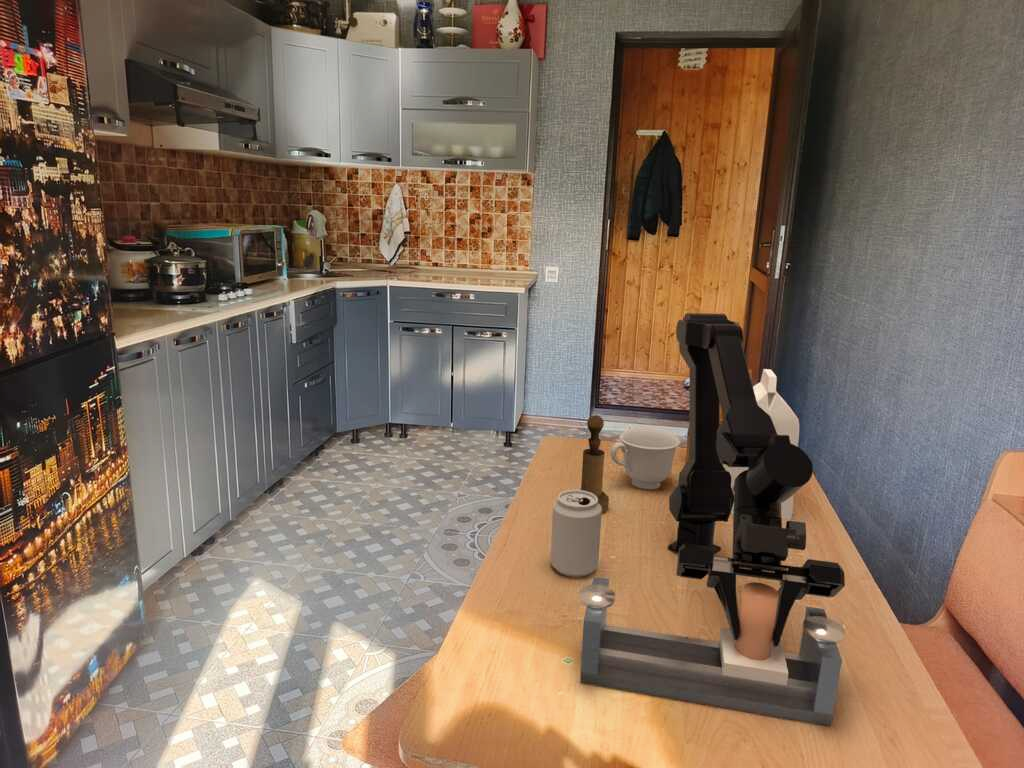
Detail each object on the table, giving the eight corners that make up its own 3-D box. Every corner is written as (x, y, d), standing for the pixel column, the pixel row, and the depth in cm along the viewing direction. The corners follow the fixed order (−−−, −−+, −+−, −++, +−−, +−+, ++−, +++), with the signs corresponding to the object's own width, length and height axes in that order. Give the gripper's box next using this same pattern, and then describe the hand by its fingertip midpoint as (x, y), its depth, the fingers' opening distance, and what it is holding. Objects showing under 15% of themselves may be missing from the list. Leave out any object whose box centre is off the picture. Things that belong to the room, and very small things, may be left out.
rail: (570, 680, 84) (573, 614, 81) (581, 632, 93) (584, 571, 91) (842, 728, 77) (855, 657, 75) (824, 670, 87) (835, 606, 84)
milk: (791, 520, 128) (810, 383, 121) (726, 514, 130) (741, 378, 123) (779, 494, 139) (796, 367, 132) (719, 488, 141) (733, 363, 134)
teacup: (593, 479, 144) (595, 433, 141) (652, 469, 150) (656, 425, 147) (626, 502, 133) (629, 453, 131) (688, 490, 139) (693, 443, 137)
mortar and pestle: (611, 503, 133) (617, 413, 128) (604, 517, 127) (610, 423, 122) (577, 498, 135) (582, 409, 130) (568, 511, 129) (573, 419, 124)
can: (595, 582, 105) (600, 509, 102) (546, 576, 107) (549, 504, 104) (599, 558, 112) (604, 489, 109) (553, 552, 114) (556, 484, 111)
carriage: (722, 674, 80) (731, 603, 78) (719, 638, 87) (727, 572, 85) (786, 685, 79) (797, 613, 77) (778, 648, 86) (788, 580, 83)
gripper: (685, 482, 84) (677, 615, 76) (854, 501, 80) (862, 642, 72) (680, 514, 93) (672, 635, 85) (830, 533, 89) (835, 661, 81)
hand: (755, 643), depth 81 cm, fingers closed on carriage, 4 cm apart
